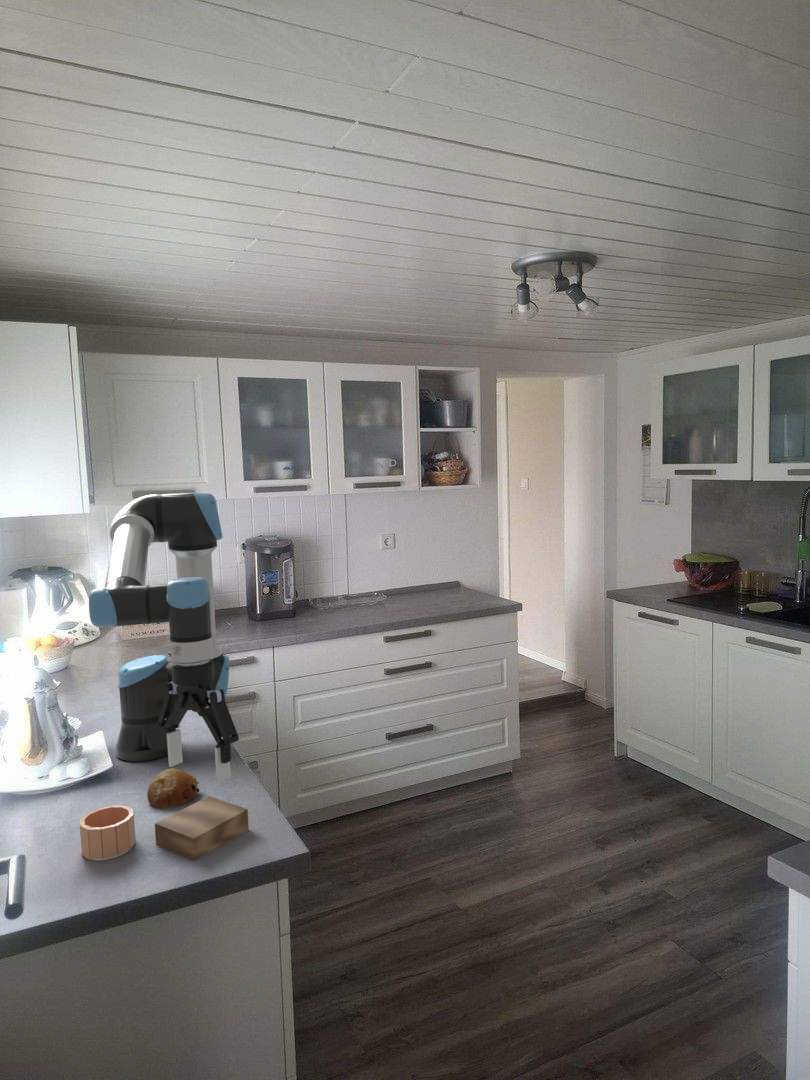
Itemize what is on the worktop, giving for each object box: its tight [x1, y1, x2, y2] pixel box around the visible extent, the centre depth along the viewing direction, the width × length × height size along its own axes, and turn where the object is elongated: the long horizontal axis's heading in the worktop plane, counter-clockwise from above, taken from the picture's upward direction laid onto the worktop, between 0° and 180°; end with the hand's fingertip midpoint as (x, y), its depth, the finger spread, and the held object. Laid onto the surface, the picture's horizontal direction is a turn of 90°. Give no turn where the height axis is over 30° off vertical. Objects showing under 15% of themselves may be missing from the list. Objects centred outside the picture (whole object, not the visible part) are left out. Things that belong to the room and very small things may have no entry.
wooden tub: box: [79, 805, 137, 862], centre depth 133 cm, size 9×9×6 cm
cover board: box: [154, 795, 250, 861], centre depth 136 cm, size 13×11×4 cm
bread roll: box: [146, 768, 200, 809], centre depth 153 cm, size 10×10×8 cm
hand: (199, 771), depth 135 cm, fingers open, 13 cm apart
